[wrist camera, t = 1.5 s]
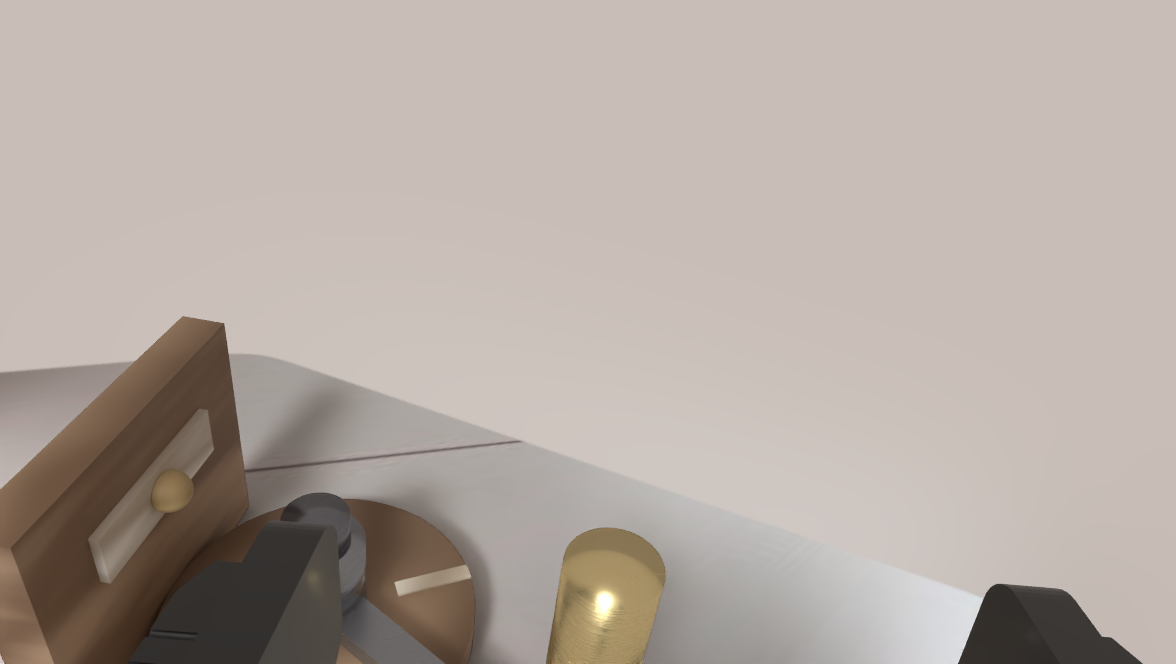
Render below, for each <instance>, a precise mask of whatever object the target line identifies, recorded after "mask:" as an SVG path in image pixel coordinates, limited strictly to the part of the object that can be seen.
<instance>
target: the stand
mask: <svg viewBox="0 0 1176 664" xmlns="http://www.w3.org/2000/svg"><path fill="white" fill-rule="evenodd" d="M343 500H344V501H345V502H346V503H347V505H348V506H349V509H350V515H351V516H353V517H354V518H355V519H356V520H358V521H359V523H360V524H361V525H362V527H363V529H364V532H365V537H366V572H367V600H368V601H369V602H370V603H372V604H373V605H374V606H375V607H377V608H378V609H379V610H380V611H381V612H383V613H384V614H385V615H386V616H388V617H389V618H390V619H391V620H392V621H394V622H395V623H396V624H397V625H399V626H400V627H401V628H402V629H403V630H405V631H406V632H407V633H408V634H410V635H411V636H412V637H413V638H414V639H416V640H417V641H418V642H419V643H421V644H422V645H423V646H424V647H425V648H427V649H428V650H429V651H430V652H432V653H433V654H434V655H435V656H436V657H438V658H439V659H440V660H441V661H443V662H444V663H445V664H468V663H469V660H470V655H471V649H472V643H473V631H474V619H475V597H474V589H473V584H472V581H471V574H470V572H469V569H468V566H467V564H466V565H465V563H464V560H463V558H462V557H461V555H460V554H459V552H458V551H457V550H456V548H455V547H454V545H453V544H452V543H451V542H450V541H449V540H448V539H447V538H446V537H445V536H444V535H443V534H442V533H441V532H440V531H438V530H437V529H436V528H435V527H434V526H432V525H431V524H429V523H428V522H426V521H424V520H423V519H421V518H420V517H418V516H415V515H413V514H411V513H409V512H407V511H405V510H402V509H399V508H396V507H393V506H390V505H386V504H382V503H377V502H372V501H364V500H356V499H343ZM248 507H249V500H248V493H247V486H246V479H245V471H244V464H243V457H242V449H241V442H240V435H239V428H238V420H237V413H236V406H235V398H234V391H233V384H232V377H231V369H230V362H229V355H228V348H227V340H226V333H225V327H224V323H219V322H213V321H207V320H201V319H195V318H189V317H182V318H181V319H180V320H178V321H177V322H176V323H175V324H174V325H173V326H172V327H171V328H170V329H169V330H168V331H167V332H166V333H165V334H164V335H163V336H162V337H161V338H159V339H158V340H157V341H156V342H155V343H154V344H153V345H152V346H151V347H150V348H149V349H148V350H147V351H146V352H145V353H144V354H143V355H142V356H141V357H139V359H137V360H136V361H135V362H134V363H133V364H132V365H131V366H130V367H129V368H128V369H127V370H126V371H125V372H124V373H123V374H122V375H121V376H119V377H118V378H117V379H116V380H115V381H114V382H113V383H112V384H111V385H110V386H109V387H108V388H107V389H106V390H105V391H104V392H103V393H102V394H101V395H100V396H98V397H97V398H96V399H95V400H94V401H93V402H92V403H91V404H90V405H89V406H88V407H87V408H86V409H85V410H84V411H83V412H82V413H81V414H80V415H78V416H77V417H76V418H75V419H74V420H73V421H72V422H71V423H70V424H69V425H68V426H67V427H66V428H65V429H64V430H63V431H62V432H61V433H60V434H58V435H57V436H56V437H55V438H54V439H53V440H52V441H51V442H50V443H49V444H48V445H47V446H46V447H45V448H44V449H43V450H42V451H41V452H40V453H38V454H37V455H36V456H35V457H34V458H33V459H32V460H31V461H30V462H29V463H28V464H27V465H26V466H25V467H24V468H23V469H22V470H21V471H20V472H18V473H17V474H16V475H15V476H14V477H13V478H12V479H11V480H10V481H9V482H8V483H7V484H6V485H5V486H4V487H3V488H2V489H1V490H0V654H1V656H2V659H3V661H4V663H5V664H128V661H129V659H130V658H131V656H132V655H133V653H134V652H135V650H136V649H137V648H138V646H139V645H140V643H141V642H142V640H143V639H144V637H148V636H149V634H150V629H151V627H152V626H153V624H154V623H155V621H156V620H157V618H158V617H159V615H160V614H161V612H162V611H163V609H164V608H165V607H166V605H167V604H168V602H169V601H170V599H171V598H172V596H173V595H174V593H175V592H176V591H177V590H178V589H179V588H181V587H182V586H183V585H185V584H186V583H187V582H189V581H190V580H191V579H192V578H194V577H195V576H196V575H198V574H199V573H200V572H202V571H203V570H204V569H206V568H207V567H208V566H209V565H211V564H212V563H213V562H215V561H227V562H238V563H241V562H242V560H243V559H244V557H245V556H246V554H247V552H248V551H249V549H250V547H251V546H252V544H253V542H254V541H255V539H256V537H257V536H258V534H259V533H260V531H261V529H262V528H263V526H264V525H265V524H266V523H267V522H269V521H271V520H275V521H280V517H281V514H282V512H283V510H284V509H285V508H286V507H283V508H280V509H277V510H274V511H271V512H268V513H265V514H263V515H261V516H258V517H256V518H254V519H252V520H249V521H247V522H245V523H244V524H242V525H240V526H238V527H236V525H237V524H238V522H239V521H240V519H241V518H242V516H243V515H244V513H245V512H246V510H247V509H248ZM235 527H236V528H235ZM336 664H362V663H361V662H360V661H359V660H358V659H357V658H356V657H354V656H353V655H352V654H351V653H350V652H349V651H348V650H346V649H345V648H344V647H343V646H342V645H341V644H340V647H339V652H338V657H337V661H336Z"/></svg>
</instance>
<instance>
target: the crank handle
mask: <svg viewBox="0 0 1176 664" xmlns="http://www.w3.org/2000/svg"><path fill="white" fill-rule="evenodd" d="M280 521H287V522H299V523H311V524H322V525H332V526H334V528H335V529H336V533H337V539H338V555H339V572H340V590H341V607H342V632H341V641H340V644H341V645H342V646H343V647H344V648H345V649H346V650H348V651H349V652H350V653H351V654H352V655H353V656H354V657H356V658H357V659H358V660H359V661H360V662H361V663H362V664H445V663H444V662H443V661H441V660H440V659H439V658H438V657H436V656H435V655H434V654H433V653H432V652H430V651H429V650H428V649H427V648H425V647H424V646H423V645H422V644H421V643H419V642H418V641H417V640H416V639H414V638H413V637H412V636H411V635H410V634H408V633H407V632H406V631H405V630H403V629H402V628H401V627H400V626H399V625H397V624H396V623H395V622H394V621H392V620H391V619H390V618H389V617H388V616H386V615H385V614H384V613H383V612H381V611H380V610H379V609H378V608H377V607H375V606H374V605H373V604H372V603H370V602H369V601H368V600H367V572H366V537H365V532H364V529H363V527H362V525H361V524H360V523H359V521H358V520H356V519H355V518H354V517H353V516H351V515H350V509H349V506H348V505H347V503H346V502H345V501H344V500H343V499H341V498H340V497H338V496H336V495H333V494H329V493H311V494H307V495H304V496H301V497H299V498H297V499H295V500H294V501H292V502H291V503H290V504H288V505H287V506H286V508H285V509H284V510H283V512H282V514H281V517H280ZM664 582H665V567H664V563H663V561H662V559H661V557H660V555H659V553H658V552H657V551H656V549H655V548H654V547H653V546H652V545H651V544H650V543H649V542H647V541H646V540H645V539H643V538H642V537H640V536H638V535H636V534H634V533H632V532H629V531H626V530H622V529H617V528H597V529H593V530H589V531H587V532H584V533H582V534H580V535H579V536H577V537H576V538H575V539H574V540H573V541H572V542H571V543H570V544H569V546H568V547H567V549H566V551H565V554H564V558H563V564H562V570H561V576H560V582H559V588H558V594H557V600H556V606H555V612H554V618H553V624H552V630H551V636H550V642H549V648H548V654H547V660H546V664H642V662H643V659H644V655H645V651H646V648H647V644H648V640H649V637H650V633H651V629H652V626H653V622H654V618H655V615H656V611H657V607H658V604H659V600H660V597H661V593H662V589H663V586H664Z"/></svg>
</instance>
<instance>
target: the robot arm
mask: <svg viewBox="0 0 1176 664" xmlns="http://www.w3.org/2000/svg"><path fill="white" fill-rule="evenodd" d="M341 632H342V607H341V590H340V572H339V555H338V539H337V533H336V529H335V528H334V526H332V525H322V524H311V523H299V522H287V521H275V520H271V521H269V522H267V523H266V524H265V525H264V526H263V528H262V529H261V531H260V533H259V534H258V536H257V537H256V539H255V541H254V542H253V544H252V546H251V547H250V549H249V551H248V552H247V554H246V556H245V557H244V559H243V560H242V562H241V563H238V562H227V561H215V562H213V563H212V564H211V565H209V566H208V567H207V568H206V569H204V570H203V571H202V572H200V573H199V574H198V575H196V576H195V577H194V578H192V579H191V580H190V581H189V582H187V583H186V584H185V585H183V586H182V587H181V588H179V589H178V590H177V591H176V592H175V593H174V595H173V596H172V598H171V599H170V601H169V602H168V604H167V605H166V607H165V608H164V609H163V611H162V612H161V614H160V615H159V617H158V618H157V620H156V621H155V623H154V624H153V626H152V627H151V629H150V634H149V636H148V637H144V639H143V640H142V642H141V643H140V645H139V646H138V648H137V649H136V650H135V652H134V653H133V655H132V656H131V658H130V659H129V661H128V664H336V661H337V657H338V652H339V647H340V641H341ZM958 664H1142V663H1141V662H1140V661H1139V660H1138V659H1136V658H1135V657H1134V656H1133V655H1132V654H1130V653H1129V652H1128V651H1127V650H1126V649H1124V648H1123V647H1122V646H1121V645H1119V644H1118V643H1117V642H1116V641H1115V640H1114V639H1112V638H1109V637H1102V636H1101V635H1100V634H1099V632H1098V631H1097V630H1096V628H1095V627H1094V625H1093V624H1092V623H1091V621H1090V620H1089V619H1088V617H1087V616H1086V614H1085V613H1084V612H1083V611H1082V609H1081V608H1080V606H1079V605H1078V604H1077V602H1076V601H1075V600H1074V599H1073V597H1072V596H1071V595H1069V594H1068V593H1067V592H1065V591H1063V590H1061V589H1054V588H1044V587H1032V586H1020V585H1008V584H996V585H994V586H992V587H991V588H990V589H989V590H988V592H987V593H986V595H985V597H984V599H983V602H982V604H981V607H980V610H979V612H978V615H977V617H976V620H975V622H974V625H973V627H972V630H971V632H970V635H969V637H968V640H967V642H966V645H965V648H964V650H963V653H962V655H961V658H960V660H959V663H958Z"/></svg>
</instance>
